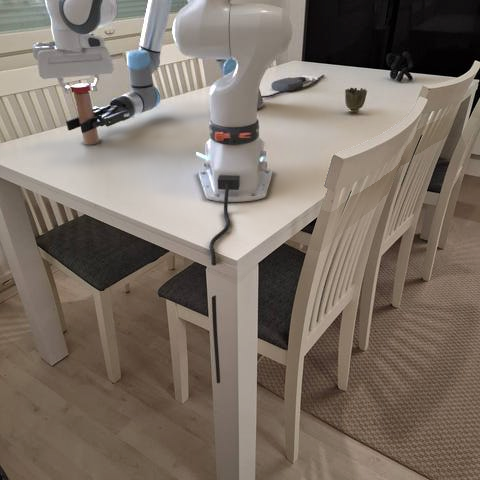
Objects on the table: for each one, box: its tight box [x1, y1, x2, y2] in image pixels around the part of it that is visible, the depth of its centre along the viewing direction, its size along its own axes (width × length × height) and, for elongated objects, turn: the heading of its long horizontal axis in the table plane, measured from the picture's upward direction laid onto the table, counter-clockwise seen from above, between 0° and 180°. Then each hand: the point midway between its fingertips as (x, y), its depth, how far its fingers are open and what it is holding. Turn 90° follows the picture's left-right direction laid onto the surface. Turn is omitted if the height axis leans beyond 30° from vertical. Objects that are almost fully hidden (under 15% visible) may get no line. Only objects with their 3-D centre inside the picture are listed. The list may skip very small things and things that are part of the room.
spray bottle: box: [270, 75, 319, 92], centre depth 194 cm, size 3×11×24 cm
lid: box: [70, 82, 91, 94], centre depth 129 cm, size 5×5×2 cm
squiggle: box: [385, 51, 414, 83], centre depth 198 cm, size 11×10×15 cm
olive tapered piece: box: [344, 87, 368, 115], centre depth 156 cm, size 8×7×8 cm
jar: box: [72, 90, 100, 146], centre depth 133 cm, size 5×5×16 cm
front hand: (81, 92), depth 130 cm, fingers open, 6 cm apart
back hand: (74, 127), depth 130 cm, fingers closed on jar, 5 cm apart
